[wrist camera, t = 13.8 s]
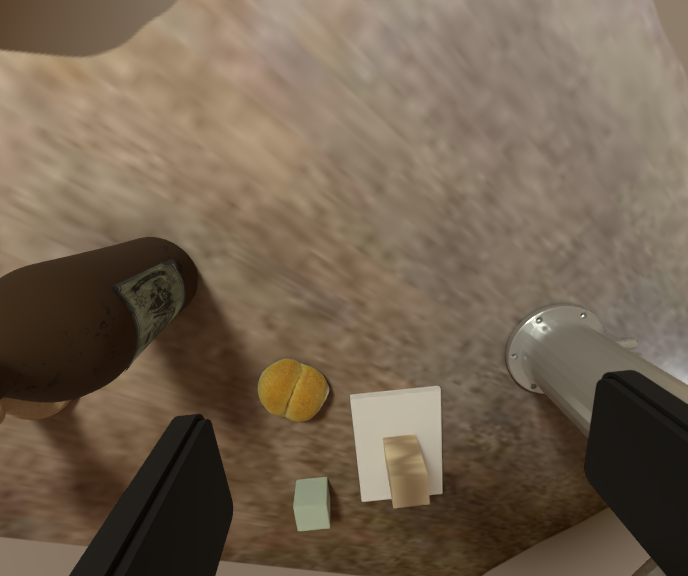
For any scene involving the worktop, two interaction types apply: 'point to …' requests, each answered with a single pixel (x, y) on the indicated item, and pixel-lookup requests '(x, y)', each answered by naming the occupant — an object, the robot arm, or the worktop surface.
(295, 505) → the sage cube
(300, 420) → the bread roll
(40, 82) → the worktop surface
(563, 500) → the worktop surface
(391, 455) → the maple block
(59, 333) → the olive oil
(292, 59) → the worktop surface
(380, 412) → the ceramic tile
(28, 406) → the candle holder
